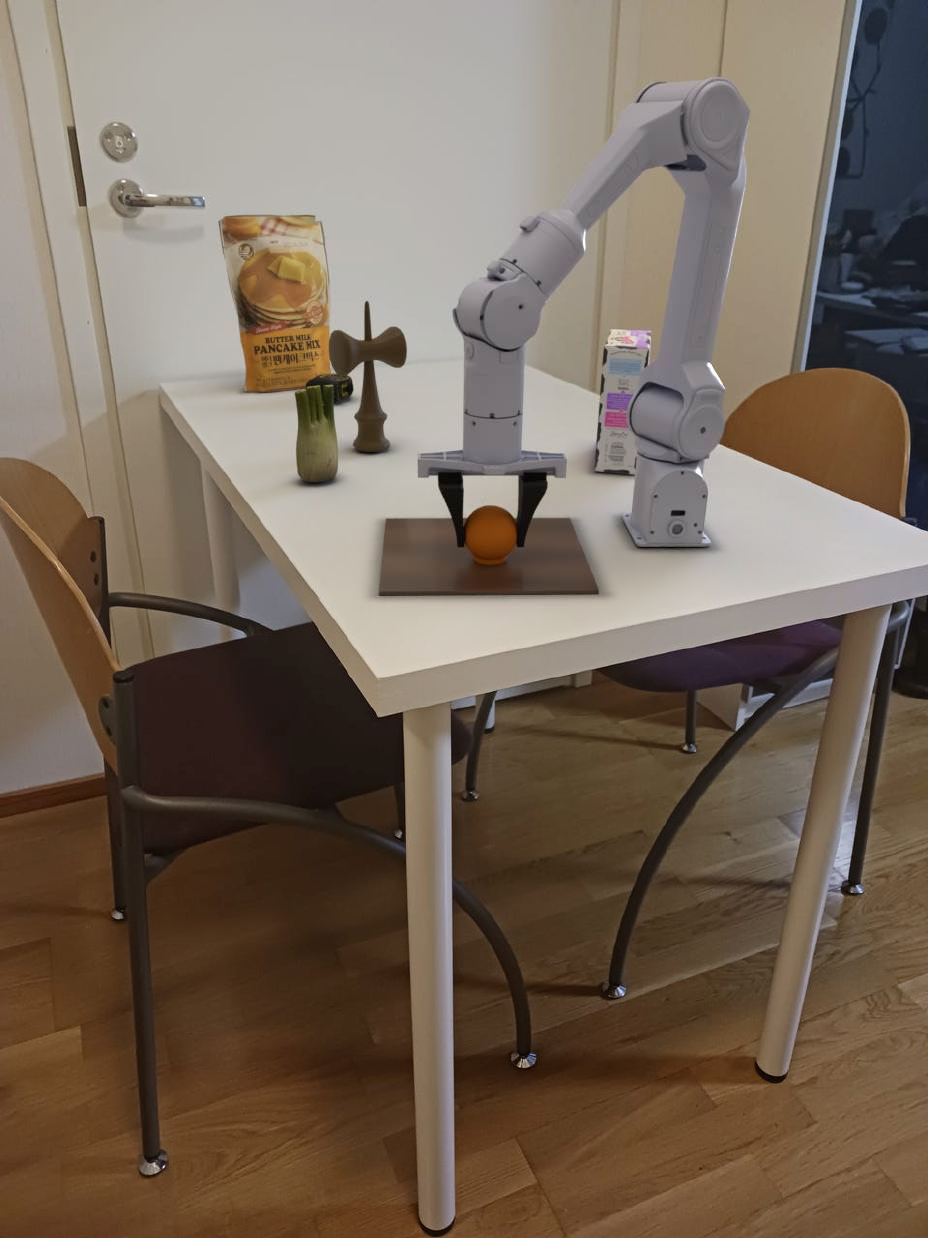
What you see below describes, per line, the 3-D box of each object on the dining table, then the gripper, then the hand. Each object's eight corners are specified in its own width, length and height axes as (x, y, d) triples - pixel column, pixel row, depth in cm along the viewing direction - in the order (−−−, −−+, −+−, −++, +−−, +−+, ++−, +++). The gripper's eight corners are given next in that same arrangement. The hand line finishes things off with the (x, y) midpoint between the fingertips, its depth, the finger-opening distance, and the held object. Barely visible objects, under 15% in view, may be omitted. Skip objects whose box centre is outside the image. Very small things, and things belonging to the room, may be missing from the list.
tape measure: (304, 400, 161) (302, 377, 159) (332, 392, 166) (331, 370, 164) (334, 406, 157) (333, 383, 156) (362, 398, 162) (361, 376, 161)
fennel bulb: (336, 472, 126) (331, 379, 120) (346, 483, 121) (342, 388, 116) (292, 477, 124) (285, 383, 118) (300, 488, 120) (294, 391, 114)
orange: (519, 569, 97) (521, 516, 94) (463, 569, 96) (464, 516, 94) (514, 548, 102) (516, 497, 99) (461, 548, 101) (462, 497, 99)
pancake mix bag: (228, 388, 168) (211, 214, 156) (329, 377, 177) (321, 211, 165) (240, 396, 163) (224, 216, 151) (344, 384, 172) (337, 214, 159)
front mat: (598, 593, 92) (599, 590, 92) (379, 595, 91) (378, 591, 91) (570, 521, 110) (570, 517, 110) (386, 521, 109) (386, 518, 109)
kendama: (331, 449, 135) (323, 300, 126) (391, 439, 140) (387, 295, 131) (350, 459, 131) (344, 306, 122) (412, 449, 135) (410, 300, 127)
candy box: (638, 476, 126) (650, 346, 118) (593, 473, 127) (602, 344, 119) (642, 447, 138) (653, 328, 130) (600, 444, 139) (609, 326, 132)
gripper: (417, 421, 88) (418, 558, 94) (574, 422, 89) (565, 558, 95) (417, 403, 95) (418, 533, 101) (564, 403, 95) (556, 532, 101)
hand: (489, 543), depth 98 cm, fingers closed on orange, 5 cm apart
